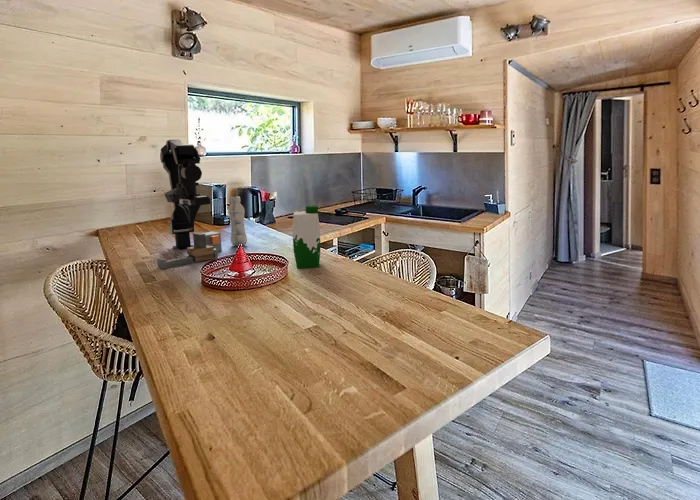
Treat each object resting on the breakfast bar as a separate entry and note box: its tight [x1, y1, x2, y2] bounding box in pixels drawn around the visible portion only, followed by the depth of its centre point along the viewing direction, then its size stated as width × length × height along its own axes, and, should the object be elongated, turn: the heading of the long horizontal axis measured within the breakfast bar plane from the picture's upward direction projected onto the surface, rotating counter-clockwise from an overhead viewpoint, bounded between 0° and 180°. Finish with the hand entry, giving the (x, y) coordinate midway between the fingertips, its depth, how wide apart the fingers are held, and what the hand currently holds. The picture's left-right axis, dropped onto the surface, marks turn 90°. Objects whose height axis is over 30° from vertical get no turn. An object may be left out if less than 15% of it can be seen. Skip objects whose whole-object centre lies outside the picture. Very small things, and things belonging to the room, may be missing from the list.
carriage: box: [186, 231, 215, 263], centre depth 168 cm, size 6×7×9 cm
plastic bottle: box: [227, 196, 248, 247], centre depth 190 cm, size 6×7×20 cm
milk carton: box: [292, 205, 321, 269], centre depth 155 cm, size 9×9×20 cm
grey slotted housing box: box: [202, 231, 223, 252], centre depth 183 cm, size 6×7×7 cm
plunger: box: [210, 235, 220, 244], centre depth 181 cm, size 7×3×3 cm, turn 48°
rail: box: [156, 249, 219, 270], centre depth 165 cm, size 4×21×3 cm, turn 138°
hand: (191, 222), depth 172 cm, fingers closed
